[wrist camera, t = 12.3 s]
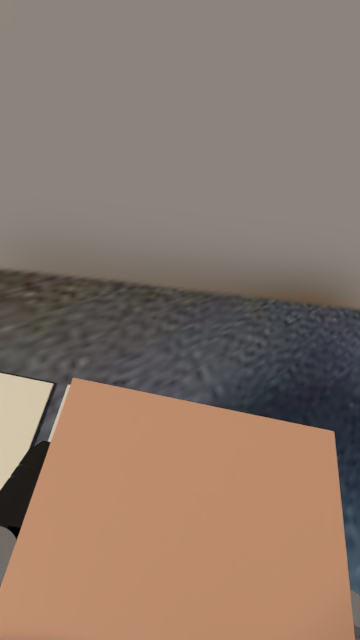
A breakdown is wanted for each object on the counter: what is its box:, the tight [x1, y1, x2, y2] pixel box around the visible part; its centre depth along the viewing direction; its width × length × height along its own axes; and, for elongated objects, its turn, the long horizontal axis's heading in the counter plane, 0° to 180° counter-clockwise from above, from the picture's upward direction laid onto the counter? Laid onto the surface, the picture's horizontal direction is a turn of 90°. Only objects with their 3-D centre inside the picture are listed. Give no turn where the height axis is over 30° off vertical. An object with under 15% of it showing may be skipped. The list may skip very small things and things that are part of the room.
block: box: [0, 378, 355, 640], centre depth 9 cm, size 5×5×9 cm
